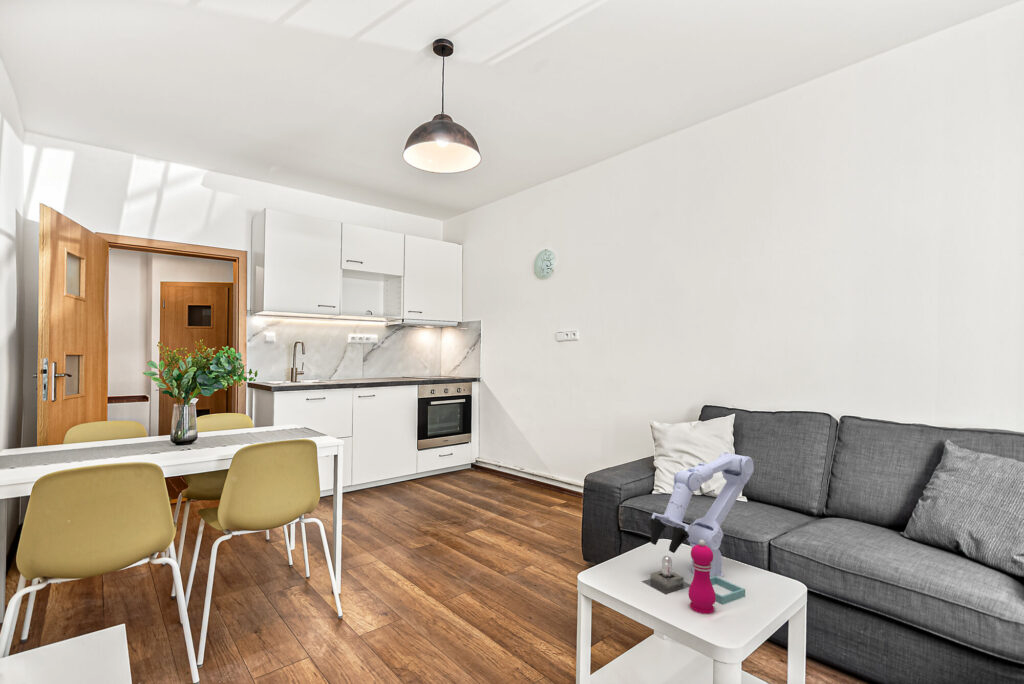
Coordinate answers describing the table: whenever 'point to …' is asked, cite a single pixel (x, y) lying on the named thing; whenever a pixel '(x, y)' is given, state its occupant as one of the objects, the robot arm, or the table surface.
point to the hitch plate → (666, 582)
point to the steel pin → (666, 567)
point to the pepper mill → (702, 580)
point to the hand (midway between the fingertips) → (661, 547)
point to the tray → (736, 590)
